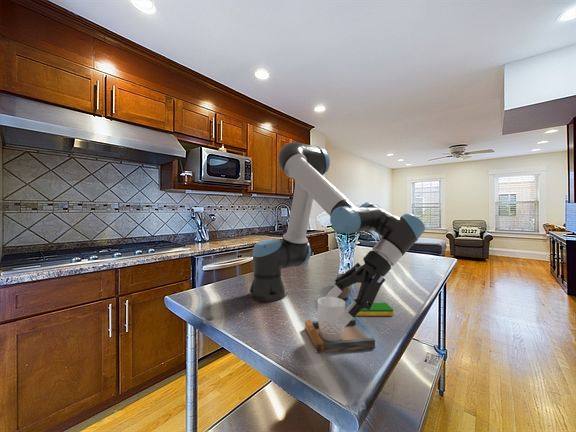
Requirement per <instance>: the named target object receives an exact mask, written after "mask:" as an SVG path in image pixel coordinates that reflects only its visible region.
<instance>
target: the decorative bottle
mask: <svg viewBox="0 0 576 432" xmlns="http://www.w3.org/2000/svg"><path fill="white" fill-rule="evenodd" d="M344 273H345V272H343V273H339V274H338V275H336V278H335V280H336V279H337V278H338V277H340V276H341V275H343V274H344ZM339 281H340V280H339ZM334 282H335V281H334ZM335 284H336V282H335V283H334V285H333V287H334V286H335ZM351 286H352V285H350V286H348V287H346V288H344V290H343V291H342V290H341V289H340V290H341V291H342V292H341V293H340V294H339V296H338V297H337V298H340V299H346V298H347V297H349V296H350V295H351V292H352V288H351Z"/></svg>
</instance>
